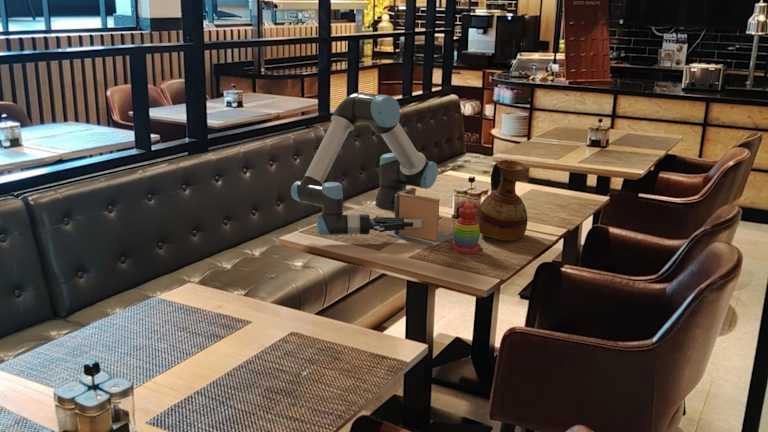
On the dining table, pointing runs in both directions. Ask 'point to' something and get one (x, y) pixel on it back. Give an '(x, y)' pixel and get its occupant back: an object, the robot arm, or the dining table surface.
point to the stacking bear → (467, 230)
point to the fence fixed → (397, 202)
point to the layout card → (441, 238)
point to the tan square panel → (420, 215)
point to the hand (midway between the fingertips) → (421, 223)
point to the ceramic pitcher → (503, 204)
